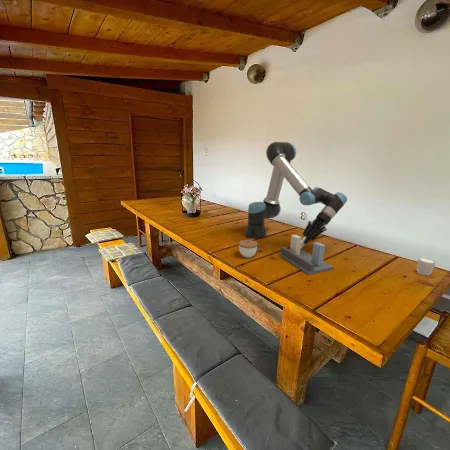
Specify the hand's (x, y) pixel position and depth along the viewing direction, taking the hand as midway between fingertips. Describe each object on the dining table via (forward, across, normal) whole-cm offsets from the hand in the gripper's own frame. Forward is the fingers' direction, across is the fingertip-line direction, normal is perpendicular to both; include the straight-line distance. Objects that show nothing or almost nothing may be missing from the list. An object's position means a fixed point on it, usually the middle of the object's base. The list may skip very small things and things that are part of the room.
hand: (299, 246), depth 138 cm
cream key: (+5, 0, -1) cm, 5 cm away
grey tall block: (+3, -14, -4) cm, 15 cm away
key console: (+5, -7, -3) cm, 9 cm away
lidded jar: (+23, +12, +14) cm, 30 cm away
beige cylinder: (-28, -39, -38) cm, 61 cm away
